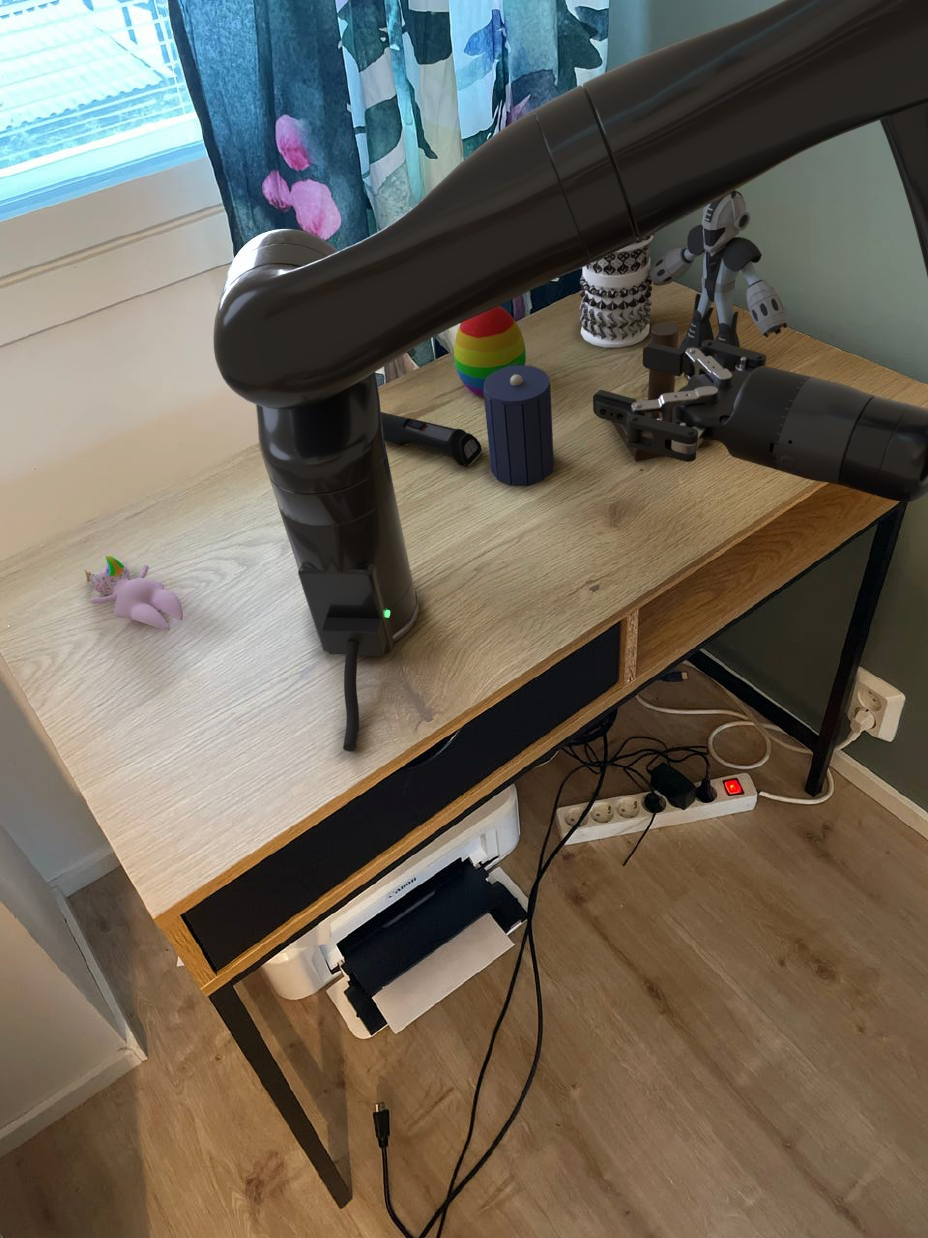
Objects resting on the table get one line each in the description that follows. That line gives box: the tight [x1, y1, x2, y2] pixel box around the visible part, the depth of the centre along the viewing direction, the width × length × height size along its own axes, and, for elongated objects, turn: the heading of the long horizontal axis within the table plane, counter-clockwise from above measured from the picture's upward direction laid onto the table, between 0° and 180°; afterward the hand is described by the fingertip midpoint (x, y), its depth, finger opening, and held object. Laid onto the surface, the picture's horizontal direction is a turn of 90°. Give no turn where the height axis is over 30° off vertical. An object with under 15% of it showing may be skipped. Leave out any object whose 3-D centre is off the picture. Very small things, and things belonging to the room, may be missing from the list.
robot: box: [648, 190, 788, 364], centre depth 97 cm, size 20×5×20 cm, turn 34°
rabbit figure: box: [83, 555, 184, 631], centre depth 82 cm, size 6×6×15 cm
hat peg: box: [611, 321, 711, 462], centre depth 91 cm, size 8×8×12 cm
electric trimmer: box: [381, 411, 482, 467], centre depth 98 cm, size 4×16×3 cm, turn 58°
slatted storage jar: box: [483, 365, 555, 487], centre depth 90 cm, size 6×6×11 cm
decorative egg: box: [453, 305, 527, 397], centre depth 102 cm, size 8×8×10 cm
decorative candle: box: [579, 232, 656, 349], centre depth 102 cm, size 9×9×25 cm
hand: (620, 377), depth 79 cm, fingers open, 8 cm apart
